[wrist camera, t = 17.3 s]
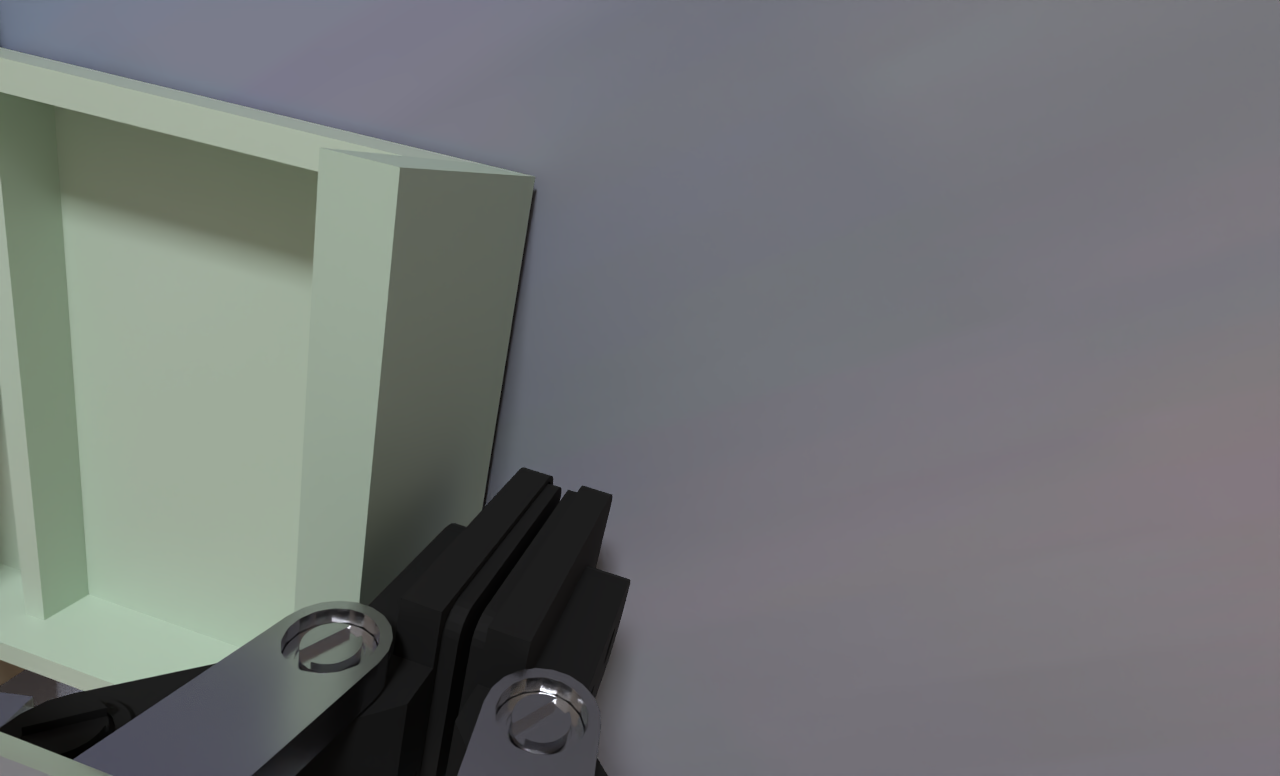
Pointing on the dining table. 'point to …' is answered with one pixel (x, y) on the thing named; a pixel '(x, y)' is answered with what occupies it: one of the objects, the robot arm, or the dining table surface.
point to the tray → (229, 366)
